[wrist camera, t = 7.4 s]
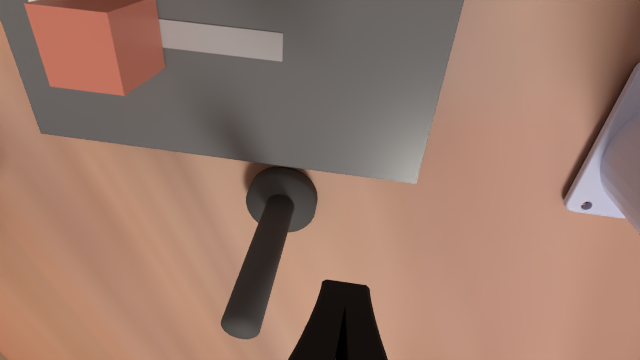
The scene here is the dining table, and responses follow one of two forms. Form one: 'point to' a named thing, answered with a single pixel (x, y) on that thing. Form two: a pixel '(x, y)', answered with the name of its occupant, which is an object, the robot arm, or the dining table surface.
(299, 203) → the post
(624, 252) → the dining table surface
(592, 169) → the robot arm
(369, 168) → the breaker panel
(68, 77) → the knob
